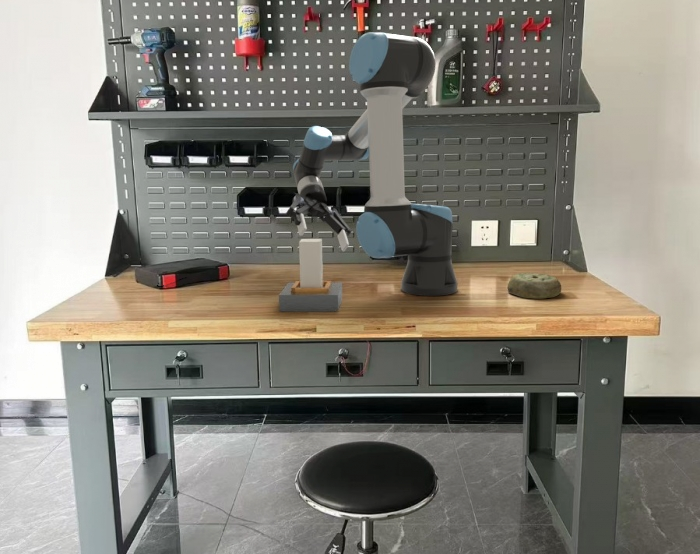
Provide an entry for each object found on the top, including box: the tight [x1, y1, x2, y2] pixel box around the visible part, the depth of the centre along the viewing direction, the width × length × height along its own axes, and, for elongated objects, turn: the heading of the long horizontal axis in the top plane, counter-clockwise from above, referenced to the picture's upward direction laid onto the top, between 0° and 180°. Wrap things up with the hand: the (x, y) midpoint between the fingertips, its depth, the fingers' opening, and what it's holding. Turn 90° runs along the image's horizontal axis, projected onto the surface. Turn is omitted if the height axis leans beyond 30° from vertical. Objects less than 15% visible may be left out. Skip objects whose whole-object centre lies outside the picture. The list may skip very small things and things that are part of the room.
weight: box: [507, 272, 562, 300], centre depth 156 cm, size 14×13×5 cm
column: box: [298, 238, 324, 288], centre depth 146 cm, size 5×5×12 cm
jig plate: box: [278, 280, 343, 313], centre depth 148 cm, size 14×14×5 cm
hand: (324, 240), depth 160 cm, fingers open, 13 cm apart
